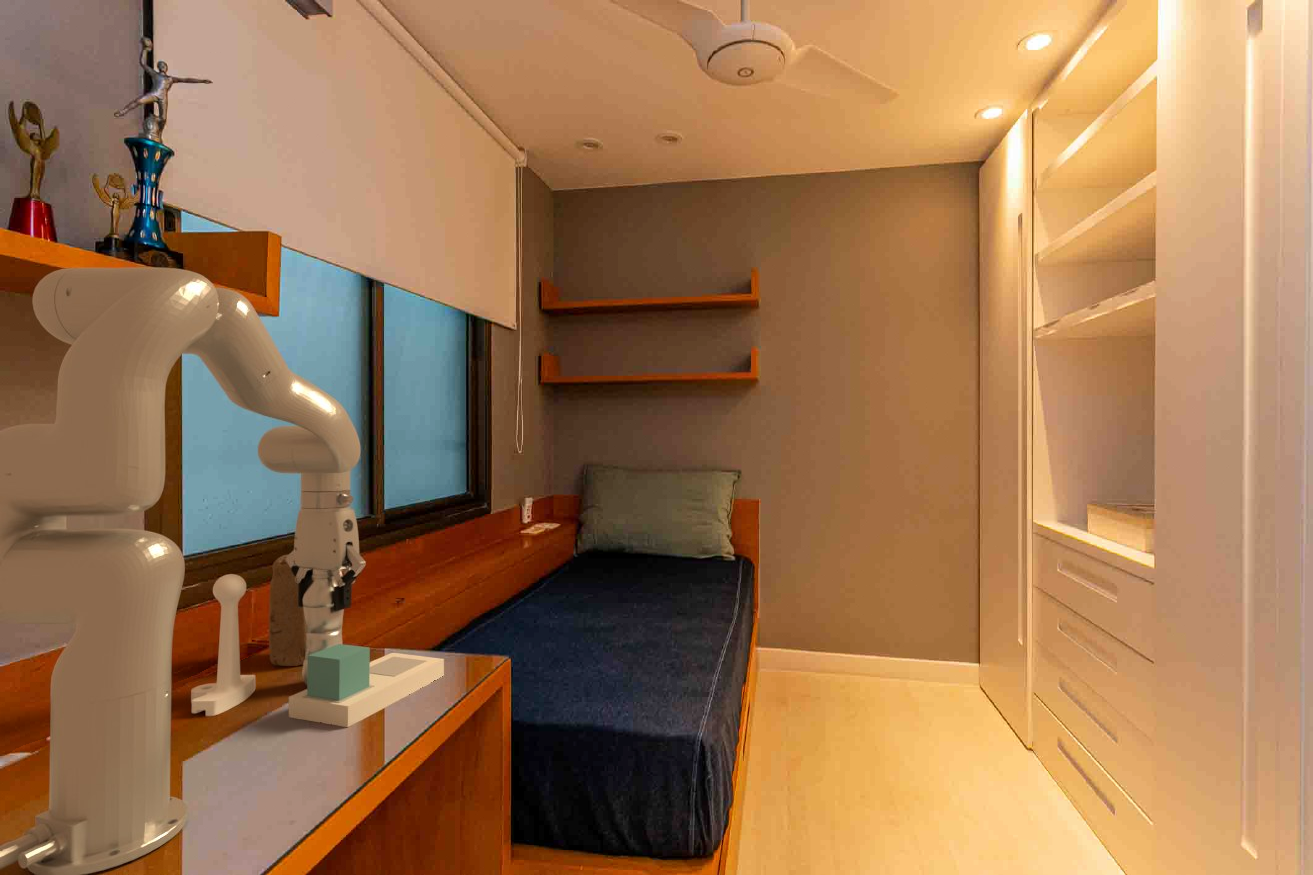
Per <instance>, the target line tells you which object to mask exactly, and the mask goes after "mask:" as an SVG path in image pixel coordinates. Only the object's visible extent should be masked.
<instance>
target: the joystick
mask: <svg viewBox="0 0 1313 875" xmlns="http://www.w3.org/2000/svg"><path fill="white" fill-rule="evenodd" d="M246 591H247V583H246V580H245V579H244V578H243V577H242V576H241V575H238V574H234V573H229V574H224V575H223V576H220V577H218V578H217V579H216V581H215V582H214V584H213V587H212V593H213V596H214V598H215V599H216V600H217V601H218V602H219V603H220V607H221V608H220V609H221V610H220V623H219V624H220V625H219V640H218V641H219V642H218V658H217V674H216V682H213V683H212V682H211V683H204V684H201V685H197V686H195V687H192V688H191V689H190V690H191V691H190V693H191V694H190V703H191V714H198V713H200V712H203V711H205V717H213V716H214V717H215V716H216V715H220V714H222V713H225V712H226V711H229V710H230V709H232V708H234V707H236V706H238V705H239V704H241V703H242V702H245V701H246V700H247V699H248V698H249V697H251V695H252V694H253V693H254V692H255V690H256V674H241V659H240V658H241V657H240V630H239V628H240V627H239V608H238V607H239V602H240V600H241V599H242V598H243V597H244V596H245V594H246Z"/></svg>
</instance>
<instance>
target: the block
mask: <svg viewBox="0 0 1313 875" xmlns="http://www.w3.org/2000/svg"><path fill="white" fill-rule="evenodd" d="M289 554H290V553H289ZM289 554H284V555H281V556H280V557H277V559H275V561H274V562H273V563H272V567H271V568H272V577H271V580H270V585H269V591H270V592H269V602H268V611H269V612H268V646H269V647H268V650H269V661H270V663H271V664H273V665H275V666H280V667H297V666H303V663H304V659H305V651H306V640H307V637H306V633H307V631H306V621H305V615H304V609H303V607H299V606H298V584H299V583H297V582H296V581H295V578H296V577H295V575H294V574H293V573H292V571H291V568H290V566H289V564H288V563H287V561H286V557H287V556H288V555H289ZM307 571H308V570H307ZM312 580H314V579H312Z"/></svg>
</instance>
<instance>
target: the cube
mask: <svg viewBox="0 0 1313 875" xmlns="http://www.w3.org/2000/svg"><path fill="white" fill-rule="evenodd" d="M370 649H371V648H370V647H367V646H358V645H353V644H352V645H351V644H337V645H334V646H332V647H329V648H326V649H324V650H321V651H318V652H315V653H313V654H310V655H308V665H307V685H306V686H307V688H306V689H307V696H311V697H318V698H324V699H330V700H337V701H340V700H342V699H344V698H346V697H349V696H351V695H353V694H355V693H357V692H359V691H361V690H363V689H365V688H367V687H369V672H370V662H371V661H370V660H371V657H370V652H371V651H370Z"/></svg>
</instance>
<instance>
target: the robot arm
mask: <svg viewBox="0 0 1313 875" xmlns="http://www.w3.org/2000/svg"><path fill="white" fill-rule="evenodd" d="M31 301H32V307H33V308H32V309H33V311H34V315H35V317H36V319H37V320H38V321H39V323H40V325H41V326H42V327H43V328H44V330H46V331H47V332H48V333H49V334H50V335H51V336H53V337H54V338H56V339H57V340H59V341H61V342H63V343H66V344H68V345H71V346H70V347H69V348H68V351H67V352H66V354H65V355H64V357H63V359H62V361H61V364H60V367H59V371H58V377H57V391H56V392H57V393H56V395H57V396H56V411H55V412H56V413H55V421H54V423H26V424H25V423H24V424H18V425H12V426H10V427H5V428H3V429H1V430H0V622H2V623H6V624H20V625H21V624H23V625H25V624H28V625H30V624H31V625H33V624H35V625H36V624H37V625H42V624H44V625H52V624H54V625H56V624H59V625H60V624H61V625H70V626H71V625H72V626H73V625H74V626H75V625H76V629H75V632H74V633H73V636H72V637H71V639H70V640H69V642H68V643H67V644H66V645H65V647H64V648H63V650H62V652H61V653H60V655H59V657H58V658H57V660H56V662H55V664H54V667H53V670H52V673H51V678H50V695H49V696H50V718H49V719H50V723H49V724H50V728H49V731H50V732H49V738H50V739H49V784H48V785H49V788H48V789H49V793H48V794H49V795H48V797H49V798H48V802H49V803H48V805H49V806H48V810H45V811H42V812H41V813H38V814H36V815H35V822H34V824H35V825H34V827H31V828H28V829H27V830H26V831H25V832H24V835H23V836H20V837H19V838H17V839H15V840H14V839H13V840H10V841H8V842H6V843H5V842H4V843H3V844H1V845H0V870H2V869H3V868H5V867H8V866H10V865H12V864H14V863H16V862H18V866H19V867H20V868H22V869H27V871H29V872H30V873H32V874H34V875H89V874H93V873H97V872H101V871H105V870H106V871H107V870H109V869H112V868H115V867H119V866H122V865H123V864H125V863H128V862H131V861H134V860H136V859H138V858H140V857H143V856H145V855H148V854H149V853H150V852H153V851H154V850H156V849H157V848H159V847H161V846H163V845H164V844H166V843H167V842H168V841H170V840H171V839H173V837H175V836H176V835H177V834H178V833H179V832H180V831H181V830H182V829H183V828H184V826H185V825H186V823H187V822H188V821H187V820H188V814H189V813H188V810H189V809H188V806H187V803H186V802H185V801H184V800H183V799H180V798H178V797H175V796H171V747H172V746H171V745H172V744H171V743H172V741H171V740H172V737H171V736H172V734H171V732H172V730H171V728H172V725H171V724H172V721H171V720H172V661H173V660H172V656H173V655H172V653H173V652H172V651H173V639H174V637H173V636H174V628H175V627H174V626H175V622H176V621H175V620H176V614H177V610H178V609H177V608H178V605H179V600H180V597H181V592H182V589H183V584H184V580H185V570H186V569H185V568H186V564H185V563H186V562H185V557H184V555H183V553H182V551H181V549H180V547H179V546H178V545H177V544H176V543H175V542H174V541H173V540H171V539H170V538H168V537H167V536H165V535H163V534H160V533H157V532H153V531H149V530H143V529H136V528H135V529H134V528H133V529H132V528H81V529H73V528H72V529H69V528H68V529H67V520H68V519H67V517H71V518H72V517H74V518H75V517H76V518H77V517H80V518H81V517H84V518H85V517H87V518H89V517H116V516H117V517H120V516H121V517H123V516H128V515H129V516H131V515H134V514H139V513H142V512H145V511H147V510H148V509H150V508H153V506H154V505H155V504H156V503H157V502H158V501H159V500H160V498H161V497H162V494H163V491H164V487H165V481H166V424H165V423H166V420H165V418H166V415H165V403H166V387H167V386H166V385H167V381H168V378H169V375H170V373H171V370H172V368H173V367H174V365H175V363H176V362H177V360H178V359H179V358H180V357H181V355H182V354H183V355H184V354H187V355H190V354H191V355H196V356H198V357H199V358H200V359H201V362H203V364H204V365H205V366H206V368H207V369H208V370H209V372H210V373H211V375H212V376H213V377H214V380H216V382H217V384H218V385H219V386H220V388H221V389H222V390H223V392H224V394H225V395H226V396H227V398H228V399H229V400H230V401H231V402H232V403H233V404H234V405H235V406H236V405H237V407H240V408H242V409H244V410H247V411H249V412H253V413H255V414H258V415H261V416H264V417H268V418H272V419H276V420H278V421H283V422H286V423H290V424H292V425H282V426H276V427H274V428H271V429H269V430H267V431H266V432H265V433H264V434H263V435H262V436H261V437H260V439H259V441H258V444H257V445H258V446H257V456H258V458H259V461H260V462H261V464H262V465H263V466H264V467H265V468H266V469H268V470H270V471H272V472H275V473H279V474H300V509H299V510H298V514H297V517H296V523H295V531H294V541H293V542H294V543H293V550H292V551H291V552H290V553H289V555H288V554H287V555H288V556H287V557H286V561H287V563H288V564H289V566H290V568H291V571H292V573H293V574H294V575H295V577H296V578H295V581H296V582H297V583H299V584H298V606H299V607H303V596H304V594H305V592H306V591H307V589H308V588H309V586H310V585H311V584H312V583H313V581H314V580H312V579H313V578H312V575H313V569H314V568H317V569H322V570H332V572H333V574H334V577H335V580H336V582H337V585H338V586H335V587H334V610H336V611H339V610H342V609H344V610H345V609H348V608H351V607H352V587H353V586H352V584H355V582H356V579H357V578H358V577H359V576H360V574H361V572H362V570H364V568H365V566H366V565H367V563H366V561H365V559H364V558H363V557H362V556H361V555H360V540H359V529H358V528H359V527H358V522H357V517H356V514H355V513H356V512H355V509H354V508H351V504H352V503H353V501H354V497H353V496H352V494H351V470H352V469H354V468H355V467H356V465H357V464H358V463H359V461H360V457H361V443H360V438H359V435H358V433H357V430H356V428H355V426H354V424H353V422H352V419H351V418H350V416H349V414H348V412H347V410H346V409H345V408H344V407H343V405H342V404H341V403H340V402H339V401H338V400H336V399H335V397H333V396H331V395H330V394H329V393H327V392H326V391H324V390H323V389H321V388H319V386H317V385H315V384H313V383H312V382H310V381H308V380H307V379H305V378H303V377H302V376H299V375H298V374H296V373H294V372H293V371H291V369H290V368H289V367H288V365H287V363H286V360H285V359H284V357H283V356H282V355H281V353H280V351H279V349H278V348H277V346H276V344H275V343H274V341H273V338H272V337H271V335H270V334H269V332H268V330H267V328H266V327H265V325H264V323H263V321H262V320H261V318H260V316H259V315H258V314H259V313H257V311H256V309H255V308H254V306H253V305H252V303H251V302H250V300H249V299H248V298H247V297H245V296H244V295H242V294H241V293H240V292H237V291H235V290H232V289H228V288H224V287H218V286H217V287H215V286H214V284H213V283H212V282H211V281H210V280H209V279H208V278H207V277H205V276H204V275H203V274H200V273H198V272H194V271H191V270H189V269H182V268H175V267H174V268H172V267H154V266H153V267H151V266H146V267H145V266H144V267H143V266H135V267H133V266H131V267H128V266H127V267H126V266H125V267H70V268H69V267H68V268H60V269H58V270H55V271H54V270H53V271H51V272H50V273H48V274H46V275H45V276H44V277H43V278H42V279H40V281H38V283H37V285H36V286H35V288H34V290H33V294H32V300H31ZM307 570H308V571H307ZM343 574H344V575H343Z"/></svg>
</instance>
